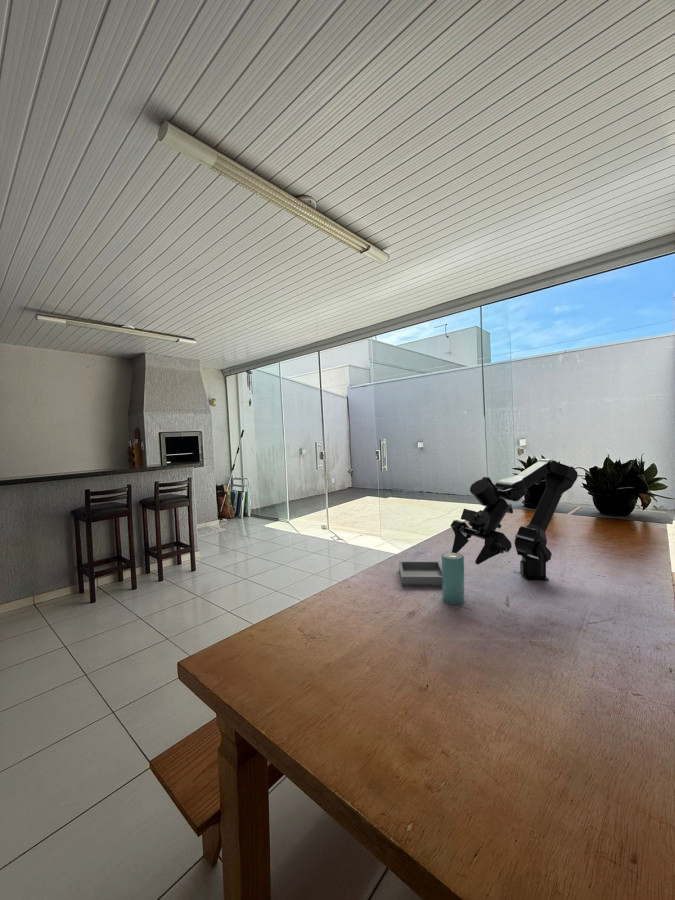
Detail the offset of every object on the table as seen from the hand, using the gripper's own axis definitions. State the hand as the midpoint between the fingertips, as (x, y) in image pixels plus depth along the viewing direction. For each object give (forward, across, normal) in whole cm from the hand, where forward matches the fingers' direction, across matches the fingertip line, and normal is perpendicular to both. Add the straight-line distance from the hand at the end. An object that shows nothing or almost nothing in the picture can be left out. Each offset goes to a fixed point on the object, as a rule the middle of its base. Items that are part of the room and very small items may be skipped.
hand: (464, 558), depth 110 cm
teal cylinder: (+11, 0, +5) cm, 12 cm away
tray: (+9, -17, +6) cm, 20 cm away
